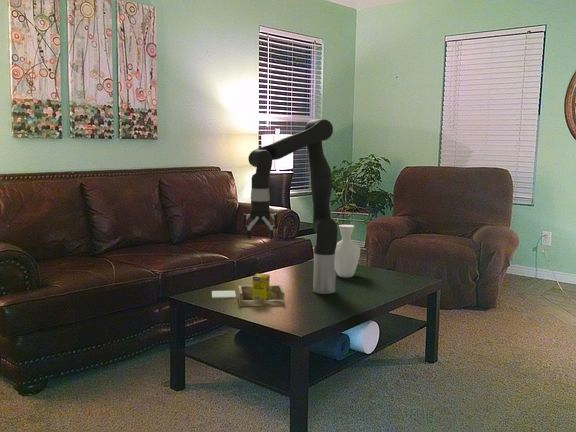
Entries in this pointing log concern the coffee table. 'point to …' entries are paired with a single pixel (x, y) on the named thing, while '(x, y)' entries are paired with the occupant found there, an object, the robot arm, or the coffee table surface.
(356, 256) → the vase
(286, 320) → the coffee table surface
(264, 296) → the supplement box
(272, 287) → the crate
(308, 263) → the coffee table surface
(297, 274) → the coffee table surface
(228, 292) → the pad
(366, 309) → the coffee table surface
